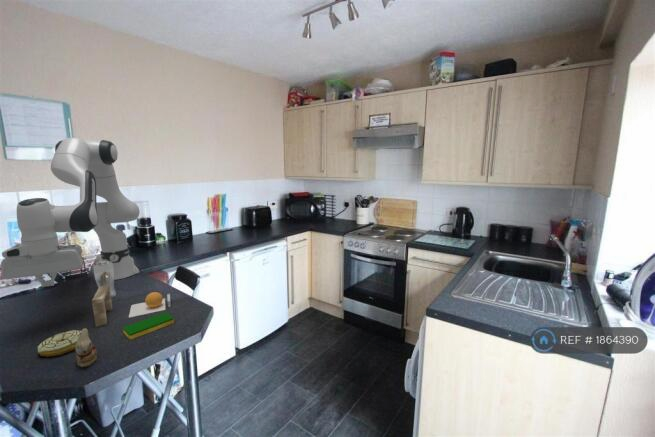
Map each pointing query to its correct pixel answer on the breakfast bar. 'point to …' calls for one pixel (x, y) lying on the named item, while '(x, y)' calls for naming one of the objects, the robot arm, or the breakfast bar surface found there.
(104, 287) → the bridge
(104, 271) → the beer glass
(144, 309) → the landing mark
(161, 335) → the breakfast bar surface
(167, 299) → the stopper
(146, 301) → the ball
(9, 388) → the breakfast bar surface
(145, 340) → the breakfast bar surface
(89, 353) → the chocolate bunny
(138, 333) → the dish sponge
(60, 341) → the decorated donut
